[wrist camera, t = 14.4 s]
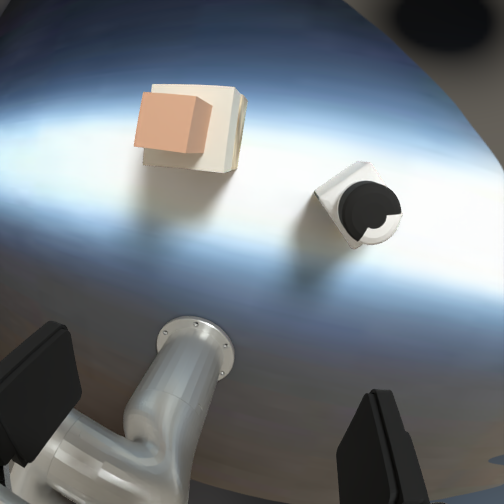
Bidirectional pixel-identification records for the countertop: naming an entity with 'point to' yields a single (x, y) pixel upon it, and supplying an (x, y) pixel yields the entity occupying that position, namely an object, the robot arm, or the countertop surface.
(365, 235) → the medicine bottle
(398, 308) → the countertop surface
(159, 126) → the terracotta block
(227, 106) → the cream block
